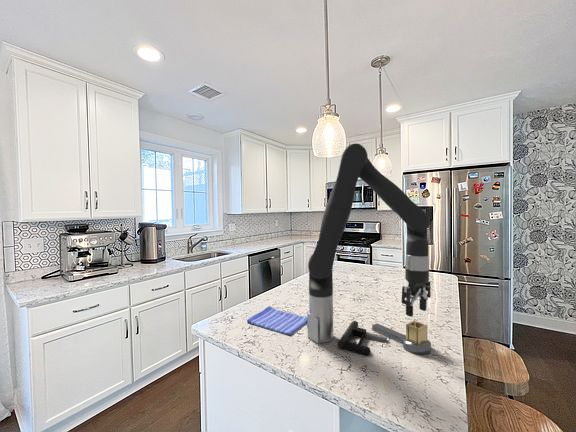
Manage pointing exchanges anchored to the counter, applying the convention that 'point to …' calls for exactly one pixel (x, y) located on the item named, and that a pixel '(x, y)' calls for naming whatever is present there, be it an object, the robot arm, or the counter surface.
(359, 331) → the door handle
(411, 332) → the brass cube frame
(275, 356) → the counter surface
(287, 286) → the counter surface
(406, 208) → the robot arm
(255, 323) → the dish towel
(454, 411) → the counter surface
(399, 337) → the ratchet
